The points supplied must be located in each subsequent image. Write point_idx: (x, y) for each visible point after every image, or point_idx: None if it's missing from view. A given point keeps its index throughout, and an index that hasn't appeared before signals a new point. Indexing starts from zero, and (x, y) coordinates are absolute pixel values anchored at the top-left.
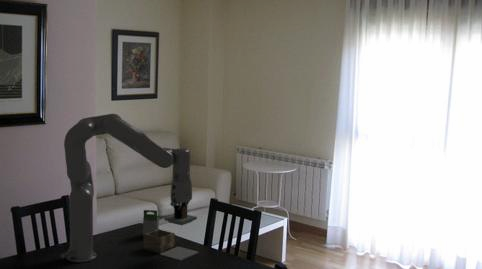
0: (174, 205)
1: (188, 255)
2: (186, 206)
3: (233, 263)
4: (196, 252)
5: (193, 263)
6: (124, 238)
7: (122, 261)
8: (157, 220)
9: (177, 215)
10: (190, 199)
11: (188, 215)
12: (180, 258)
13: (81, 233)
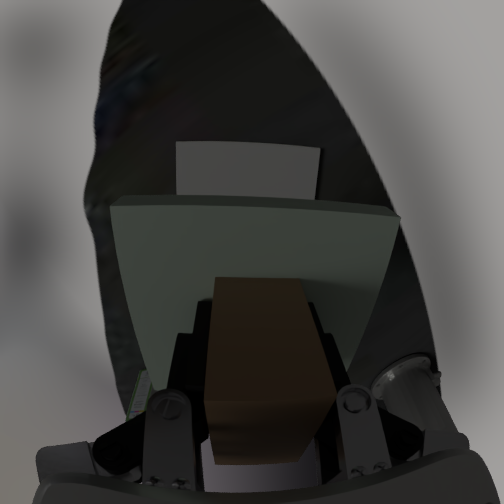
0: (432, 441)
1: (250, 150)
2: (217, 406)
3: None
4: (190, 145)
5: (313, 83)
6: None
7: (402, 307)
8: (141, 410)
9: (332, 344)
10: (91, 498)
11: (145, 306)
12: (308, 158)
13: (447, 410)
